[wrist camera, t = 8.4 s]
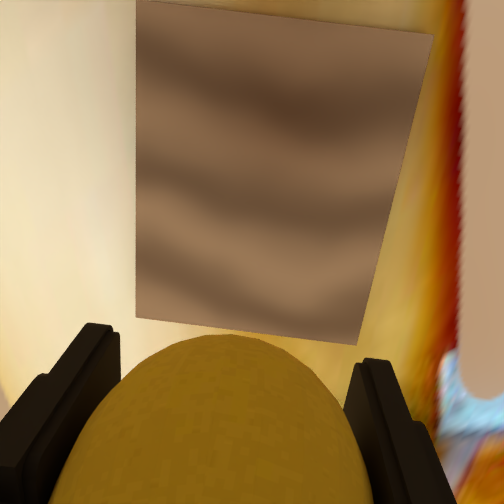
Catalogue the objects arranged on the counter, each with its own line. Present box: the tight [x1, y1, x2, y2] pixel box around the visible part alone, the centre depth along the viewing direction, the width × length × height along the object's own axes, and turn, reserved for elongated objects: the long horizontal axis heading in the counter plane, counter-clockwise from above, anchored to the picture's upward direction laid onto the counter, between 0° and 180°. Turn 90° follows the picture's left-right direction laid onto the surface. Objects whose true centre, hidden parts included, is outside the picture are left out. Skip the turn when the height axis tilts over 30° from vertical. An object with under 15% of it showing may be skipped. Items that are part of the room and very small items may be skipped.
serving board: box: [136, 0, 434, 345], centre depth 27 cm, size 20×16×2 cm
